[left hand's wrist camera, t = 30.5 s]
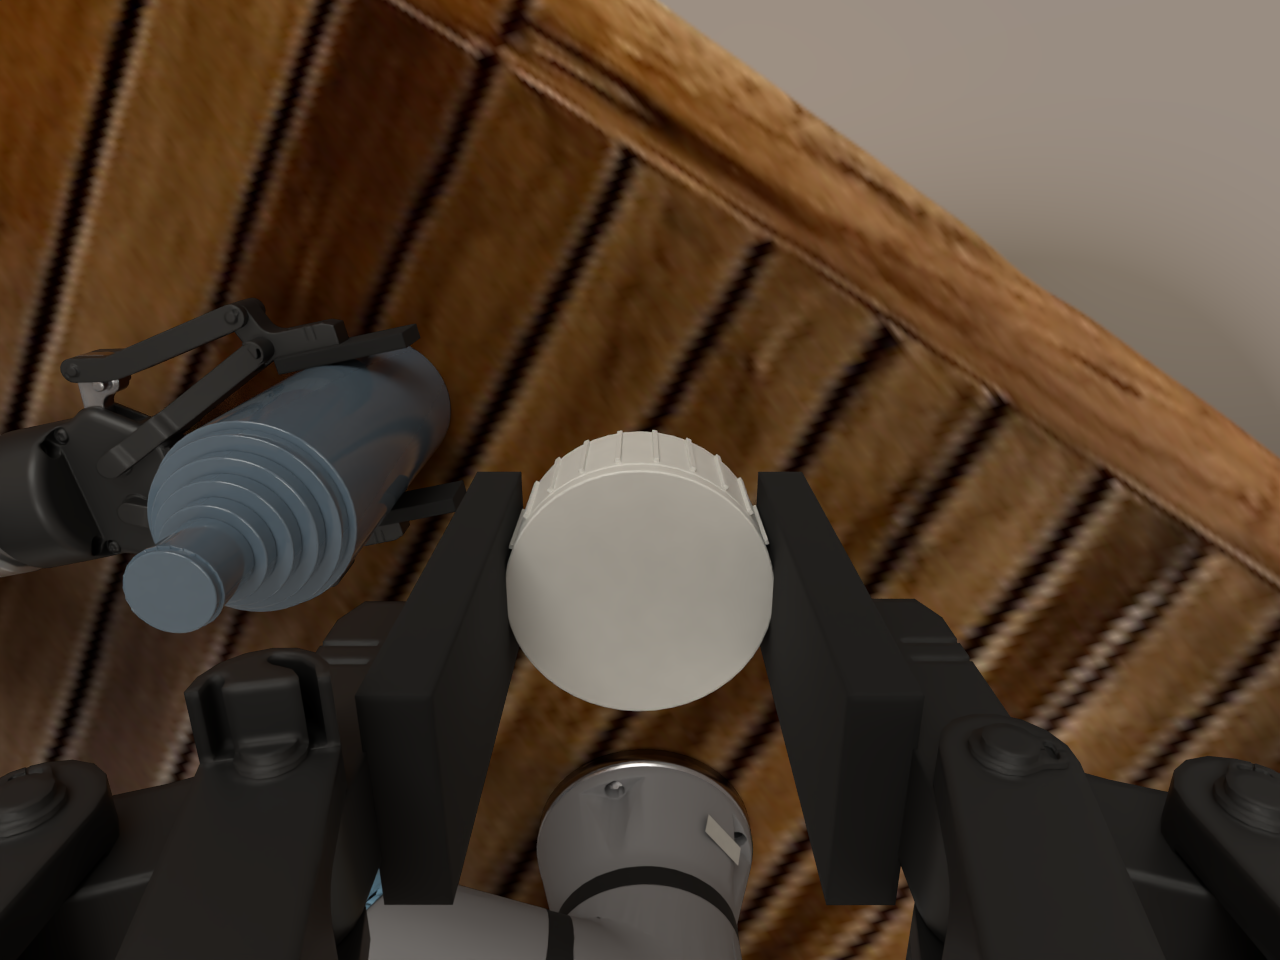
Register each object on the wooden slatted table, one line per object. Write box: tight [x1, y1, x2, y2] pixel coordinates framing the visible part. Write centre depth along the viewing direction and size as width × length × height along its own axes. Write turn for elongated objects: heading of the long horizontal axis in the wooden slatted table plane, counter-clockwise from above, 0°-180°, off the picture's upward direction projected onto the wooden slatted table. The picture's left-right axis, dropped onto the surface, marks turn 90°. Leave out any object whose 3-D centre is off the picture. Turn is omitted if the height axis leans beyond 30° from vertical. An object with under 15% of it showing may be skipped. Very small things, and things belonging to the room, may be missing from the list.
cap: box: [506, 430, 774, 711], centre depth 14 cm, size 4×4×2 cm
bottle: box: [123, 346, 451, 633], centre depth 37 cm, size 8×8×23 cm
